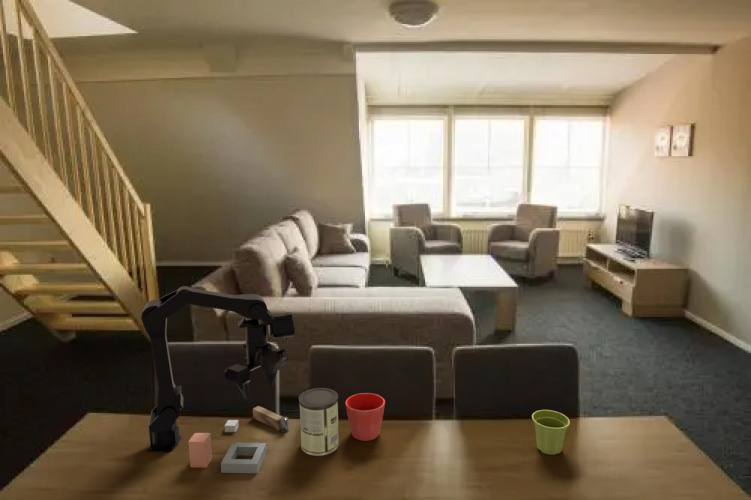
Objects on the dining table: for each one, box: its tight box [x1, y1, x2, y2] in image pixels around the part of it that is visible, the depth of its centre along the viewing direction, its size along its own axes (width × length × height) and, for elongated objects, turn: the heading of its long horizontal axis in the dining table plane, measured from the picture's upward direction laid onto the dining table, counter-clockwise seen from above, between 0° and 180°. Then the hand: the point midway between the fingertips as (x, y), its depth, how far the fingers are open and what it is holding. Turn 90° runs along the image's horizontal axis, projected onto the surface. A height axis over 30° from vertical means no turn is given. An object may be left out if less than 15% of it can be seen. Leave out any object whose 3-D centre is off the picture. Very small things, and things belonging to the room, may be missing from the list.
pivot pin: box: [280, 416, 290, 433], centre depth 138 cm, size 2×2×4 cm
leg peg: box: [188, 432, 213, 468], centre depth 123 cm, size 4×4×7 cm
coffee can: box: [298, 387, 340, 457], centre depth 130 cm, size 10×10×14 cm
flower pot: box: [344, 392, 386, 442], centre depth 136 cm, size 11×11×10 cm
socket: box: [220, 442, 268, 474], centre depth 124 cm, size 9×9×2 cm
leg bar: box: [252, 405, 283, 431], centre depth 143 cm, size 11×2×3 cm, turn 53°
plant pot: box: [531, 409, 571, 456], centre depth 129 cm, size 9×9×9 cm
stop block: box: [224, 419, 240, 433], centre depth 139 cm, size 3×3×2 cm
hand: (258, 392), depth 138 cm, fingers open, 9 cm apart
